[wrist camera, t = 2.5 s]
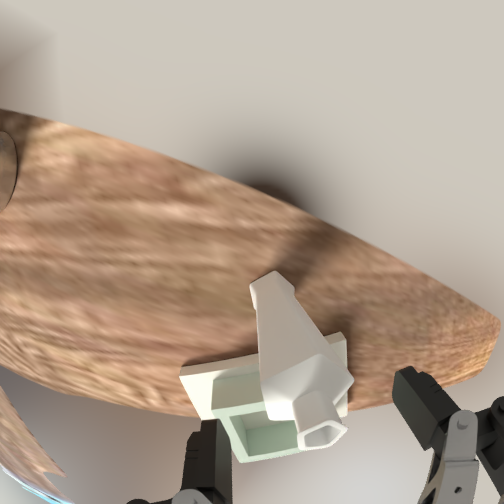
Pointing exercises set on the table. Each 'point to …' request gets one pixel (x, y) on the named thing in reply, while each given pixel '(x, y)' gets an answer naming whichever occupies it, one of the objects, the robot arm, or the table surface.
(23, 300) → the table surface
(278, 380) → the perfume bottle
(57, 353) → the table surface
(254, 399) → the stand
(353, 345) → the table surface
